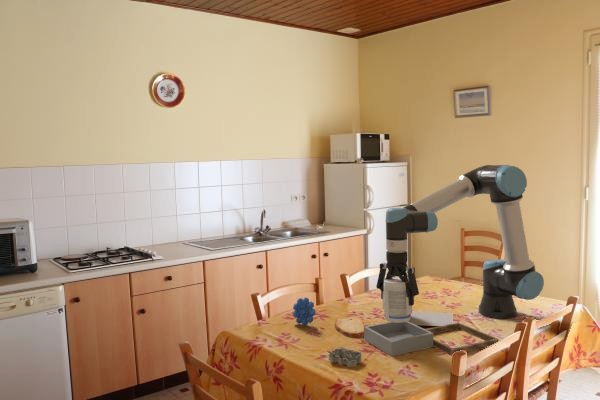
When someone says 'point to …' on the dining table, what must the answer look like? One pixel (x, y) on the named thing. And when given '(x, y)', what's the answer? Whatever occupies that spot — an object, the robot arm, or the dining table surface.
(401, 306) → the supplement tub
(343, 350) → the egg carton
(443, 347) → the rim
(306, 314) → the grapes
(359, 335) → the bread slice
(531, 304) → the dining table surface
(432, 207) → the robot arm
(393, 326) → the grey bin
